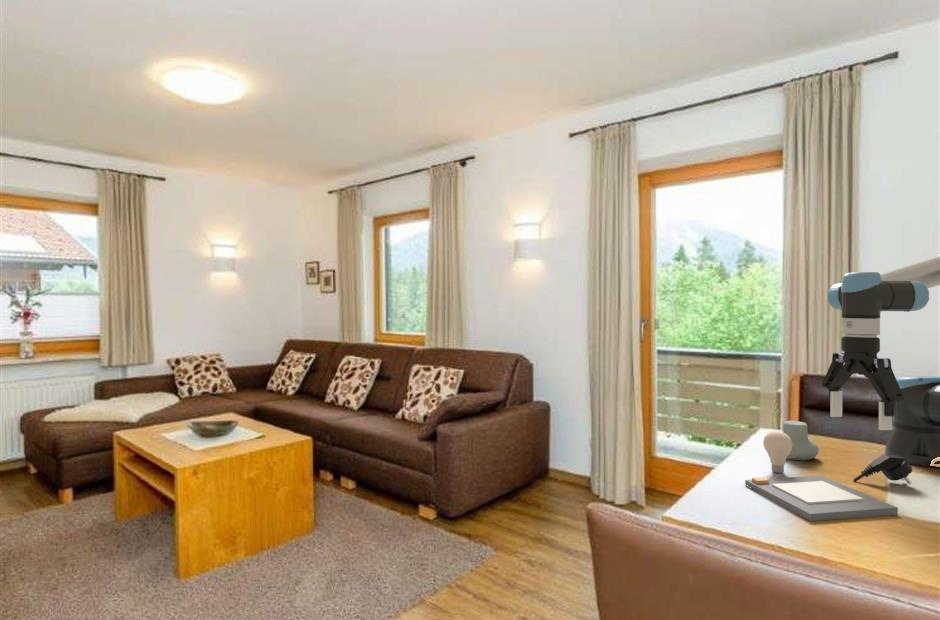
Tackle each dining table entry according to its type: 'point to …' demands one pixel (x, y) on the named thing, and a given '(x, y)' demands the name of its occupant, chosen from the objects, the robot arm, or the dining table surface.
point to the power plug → (888, 468)
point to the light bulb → (777, 449)
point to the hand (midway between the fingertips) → (859, 423)
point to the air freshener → (800, 441)
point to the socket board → (820, 498)
